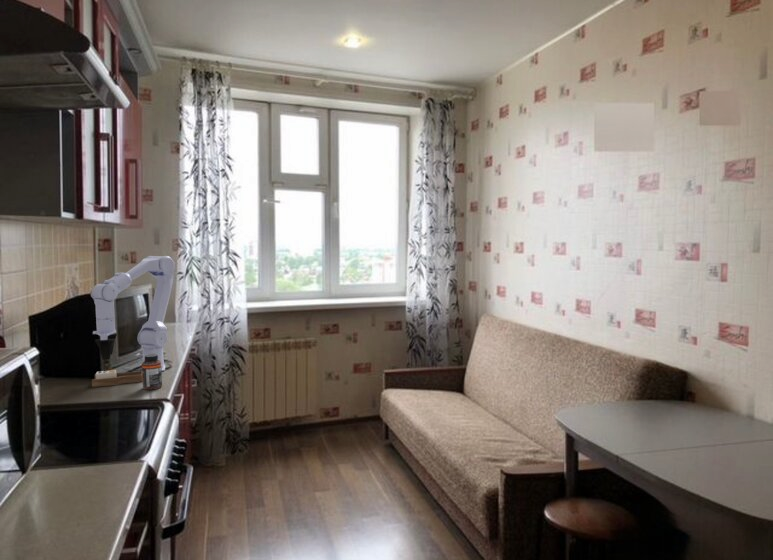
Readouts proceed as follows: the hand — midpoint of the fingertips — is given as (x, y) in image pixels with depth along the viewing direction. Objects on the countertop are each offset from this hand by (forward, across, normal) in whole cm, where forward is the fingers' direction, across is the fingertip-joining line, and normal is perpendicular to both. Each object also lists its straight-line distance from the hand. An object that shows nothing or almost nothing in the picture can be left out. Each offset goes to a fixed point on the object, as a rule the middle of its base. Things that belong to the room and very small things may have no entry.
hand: (107, 356), depth 178 cm
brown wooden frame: (+9, 0, +3) cm, 10 cm away
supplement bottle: (+10, +13, +14) cm, 22 cm away
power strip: (+9, 0, -1) cm, 9 cm away
